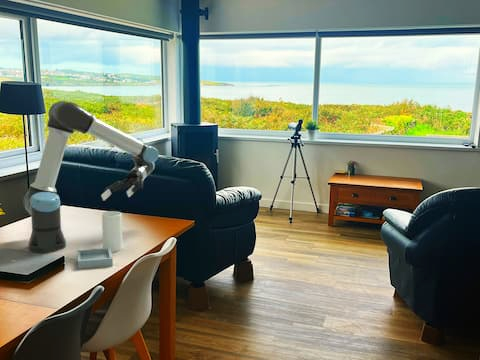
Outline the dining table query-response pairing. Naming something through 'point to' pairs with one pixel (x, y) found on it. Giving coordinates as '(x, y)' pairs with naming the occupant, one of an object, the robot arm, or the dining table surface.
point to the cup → (112, 230)
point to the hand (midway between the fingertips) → (115, 196)
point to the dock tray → (94, 258)
